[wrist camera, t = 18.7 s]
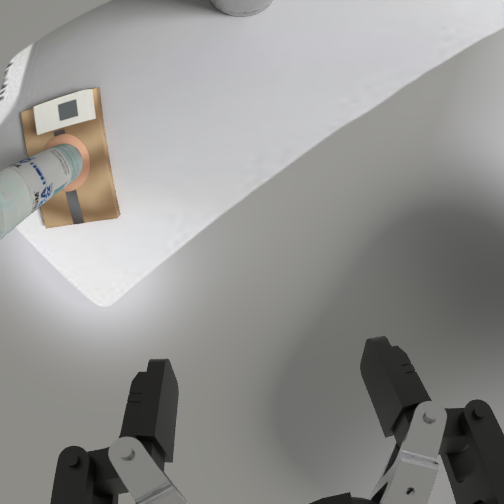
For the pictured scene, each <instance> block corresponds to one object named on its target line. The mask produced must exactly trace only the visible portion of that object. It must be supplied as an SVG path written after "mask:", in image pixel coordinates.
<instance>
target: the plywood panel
mask: <svg viewBox="0 0 504 504" xmlns="http://www.w3.org/2000/svg"><path fill="white" fill-rule="evenodd" d="M93 98H94V107H95V115H96V119H92V120H88V121H84V122H80V123H77V124H73V125H69V126H66V127H62V128H59V129H56V130H52V131H49V132H46V133H43V134H39V135H37V130H36V123H35V116H34V108H31V109H29V110H26V111H24V112H21V117H22V124H23V131H24V137H25V143H26V149H27V154H28V157H30V156H33V155H35V154H37V153H40V152H42V151H44V150H47V149H49V148H52V147H54V146H57V145H59V144H71V145H73V146H75V147H76V148H77V149H78V151H79V152H80V154H81V157H82V161H83V166H82V171H81V173H80V175H79V176H78V178H77V179H76V180H75V181H73V182H72V183H71V184H69V185H68V186H66V187H65V188H64V189H62V190H61V191H60V192H58V193H57V194H56V195H54V196H53V197H52V198H50V199H49V200H48V201H47V202H45V203H44V204H43V205H41V206H40V209H41V213H42V216H43V220H44V223H45V226H46V228H52V227H59V226H65V225H72V224H80V223H86V222H93V221H100V220H107V219H115V218H118V217H119V216H120V211H119V206H118V201H117V197H116V192H115V187H114V182H113V177H112V171H111V166H110V160H109V154H108V148H107V142H106V135H105V128H104V121H103V113H102V105H101V96H100V88H93Z"/></svg>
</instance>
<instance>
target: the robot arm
mask: <svg viewBox="0 0 504 504" xmlns="http://www.w3.org/2000/svg"><path fill="white" fill-rule="evenodd" d="M210 1H211V3H212V4H213V5H214V6H215V7H216V8H217V9H218V10H220V11H221V12H223V13H226V14H228V15H232V16H242V17H244V16H251V15H254V14H257V13H259V12H261V11H263V10H264V9H266V8H267V7H268V6H269V5H270V3H271V2H272V1H273V0H210ZM360 370H361V375H362V378H363V380H364V382H365V385H366V388H367V390H368V393H369V395H370V398H371V401H372V403H373V406H374V408H375V411H376V414H377V416H378V419H379V422H380V424H381V427H382V430H383V432H384V435H385V437H389V436H392V435H394V437H395V439H396V441H395V443H394V446H393V448H392V451H391V453H390V456H389V458H388V461H387V463H386V465H385V468H384V470H383V472H382V475H381V477H380V479H379V481H378V482H377V484H376V486H375V487H374V489H373V491H372V493H371V495H370V497H369V499H364V498H357V497H351V495H350V492H349V493H345V494H340V495H336V496H331V497H326V498H322V499H320V500H317V501H315V502H312V503H310V504H427V502H428V499H429V497H430V494H431V491H432V488H433V484H434V482H435V478H436V475H437V472H438V468H439V464H438V463H436V460H437V456H438V454H440V455H441V458H442V460H443V463H444V466H445V469H446V472H447V475H448V478H449V481H450V484H451V488H452V491H453V494H454V498H455V501H456V504H504V434H503V432H502V430H501V428H500V426H499V424H498V422H497V420H496V418H495V416H494V414H493V412H492V410H491V408H490V406H489V405H488V404H487V403H486V402H484V401H482V400H472V401H470V402H469V403H468V404H467V405H466V406H465V408H452V409H446V408H444V407H443V406H441V405H440V404H439V403H437V402H434V401H432V400H431V399H430V397H429V395H428V393H427V391H426V390H425V388H424V386H423V384H422V382H421V380H420V378H419V376H418V374H417V373H416V372H415V369H414V367H413V365H411V362H410V360H409V358H408V356H407V354H406V353H405V352H404V351H403V350H402V349H400V348H399V347H398V346H393V347H391V345H390V343H389V341H388V339H387V338H386V337H385V336H380V337H375V338H370V339H367V341H366V344H365V348H364V352H363V356H362V359H361V364H360ZM178 395H179V393H178V383H177V380H176V377H175V374H174V372H173V369H172V366H171V363H170V361H169V359H150V360H149V363H148V367H147V372H138V374H137V375H136V377H135V378H134V379H133V381H132V384H131V387H130V394H129V396H128V403H127V405H126V410H125V414H124V419H123V424H122V429H121V433H120V436H119V438H118V439H117V440H115V441H114V442H113V443H112V444H111V446H110V447H108V448H105V449H100V450H94V451H89V452H86V451H85V450H84V449H83V448H81V447H78V446H70V447H67V448H65V449H64V450H63V451H62V452H61V454H60V455H59V458H58V462H57V467H56V473H55V479H54V484H53V490H52V497H51V504H118V494H121V493H127V492H130V494H131V495H132V497H133V498H134V500H135V502H136V504H190V503H189V502H188V501H187V500H186V499H185V498H184V497H183V495H182V494H181V493H180V492H179V490H178V489H177V488H176V487H175V486H174V484H173V483H172V482H171V480H170V479H169V478H168V477H167V475H166V474H165V473H164V463H165V462H173V450H174V438H175V427H176V415H177V404H178Z"/></svg>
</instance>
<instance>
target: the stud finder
mask: <svg viewBox="0 0 504 504" xmlns="http://www.w3.org/2000/svg"><path fill="white" fill-rule="evenodd" d="M33 108H34V116H35V123H36V130H37V135H39V134H43V133H46V132H49V131H52V130H56V129H59V128H62V127H66V126H69V125H73V124H77V123H80V122H84V121H88V120H92V119H96V115H95V107H94V98H93V89H88V90H82V91H79V92H75V93H72V94H69V95H66V96H62V97H59V98H56V99H53V100H50V101H48V102H45V103H42V104H39V105H37V106H34V107H33Z"/></svg>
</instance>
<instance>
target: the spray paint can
mask: <svg viewBox="0 0 504 504" xmlns="http://www.w3.org/2000/svg"><path fill="white" fill-rule="evenodd" d="M82 166H83V161H82V157H81V154H80V152H79V151H78V149H77V148H76V147H75V146H73V145H71V144H59V145H57V146H54V147H52V148H49V149H47V150H44V151H42V152H40V153H37V154H35V155H33V156H30V157H28V158H26V159H24V160H21V161H19V162H17V163H15V164H13V165H11V166H9V167H7V168H5V169H3V170H1V171H0V240H1V239H2V238H3V237H5V235H7V234H8V233H9V232H10V231H11V230H12V229H14V228H15V227H16V226H17V225H18V224H19V223H21V222H22V221H23V220H24V219H25V218H27V217H28V216H29V215H30V214H31V213H33V212H34V211H35V210H36V209H38V208H39V207H40V206H41V205H43V204H44V203H45V202H47V201H48V200H49V199H50V198H52V197H53V196H54V195H56V194H57V193H58V192H60V191H61V190H62V189H64V188H65V187H66V186H68V185H69V184H71V183H72V182H73V181H75V180H76V179H77V178H78V176H79V175H80V173H81V171H82Z"/></svg>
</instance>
